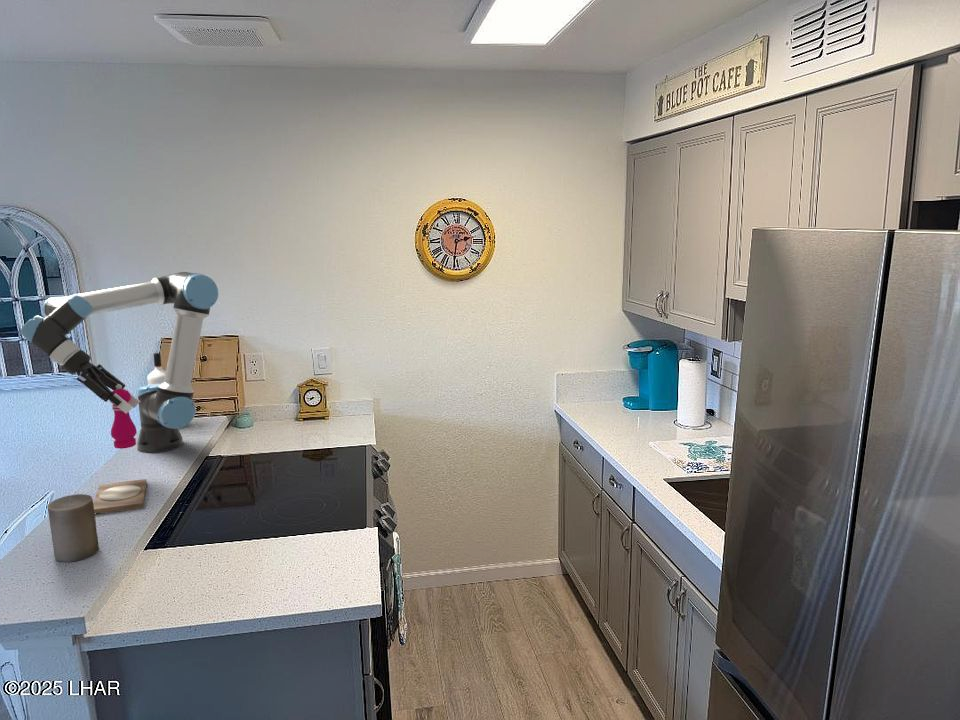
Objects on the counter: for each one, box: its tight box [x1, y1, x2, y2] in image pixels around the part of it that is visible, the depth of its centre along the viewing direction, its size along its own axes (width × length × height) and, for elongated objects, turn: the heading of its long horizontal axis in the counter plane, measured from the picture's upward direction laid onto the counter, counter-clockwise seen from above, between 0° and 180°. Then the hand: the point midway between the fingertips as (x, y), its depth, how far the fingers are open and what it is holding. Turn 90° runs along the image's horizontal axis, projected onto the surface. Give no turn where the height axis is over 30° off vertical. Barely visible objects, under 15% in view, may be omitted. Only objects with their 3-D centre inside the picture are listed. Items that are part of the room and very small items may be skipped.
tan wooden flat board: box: [93, 478, 148, 514], centre depth 203 cm, size 20×13×2 cm, turn 23°
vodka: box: [146, 352, 166, 385], centre depth 270 cm, size 9×9×30 cm
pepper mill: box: [109, 384, 137, 450], centre depth 214 cm, size 7×7×20 cm
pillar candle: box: [46, 493, 100, 563], centre depth 168 cm, size 10×10×15 cm
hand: (133, 407), depth 214 cm, fingers closed on pepper mill, 6 cm apart
